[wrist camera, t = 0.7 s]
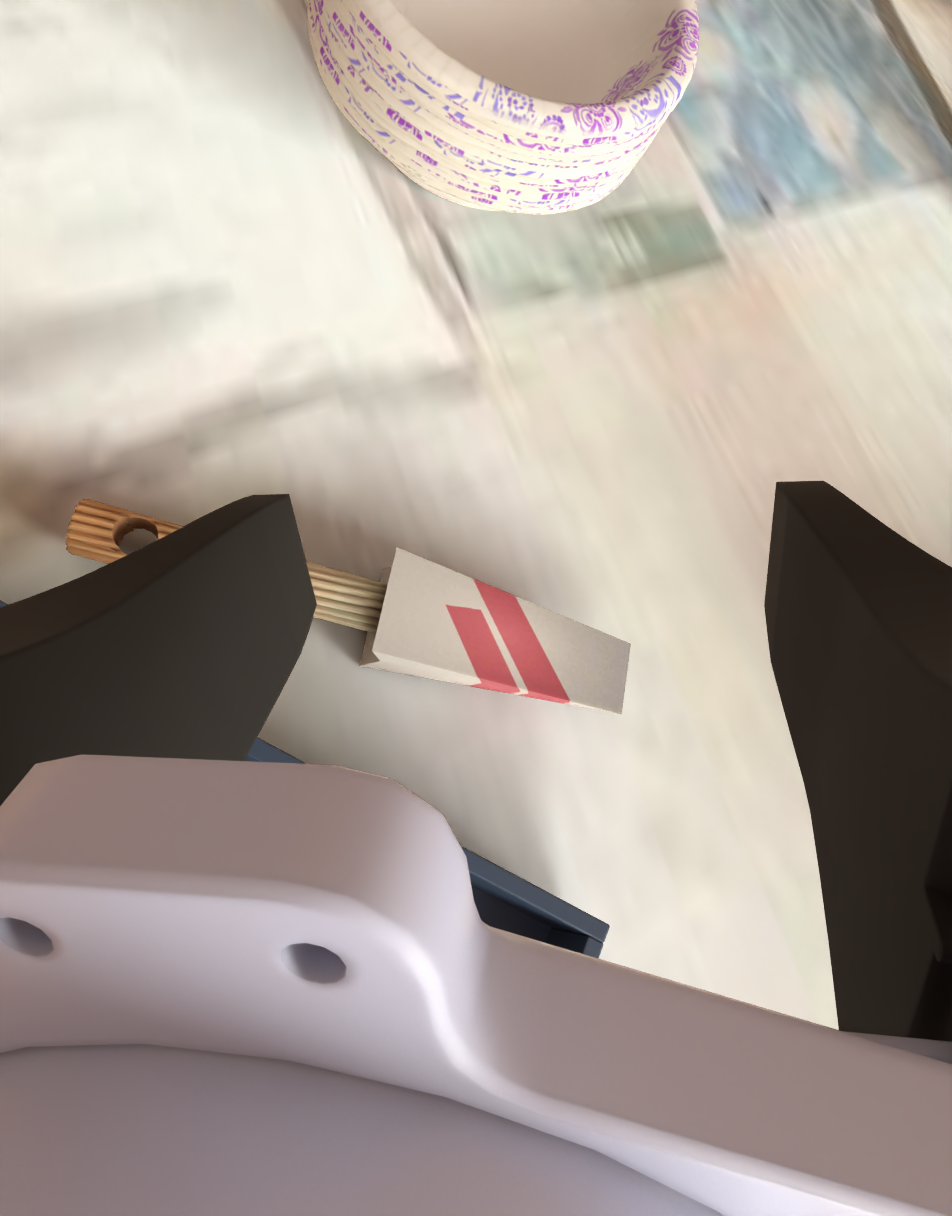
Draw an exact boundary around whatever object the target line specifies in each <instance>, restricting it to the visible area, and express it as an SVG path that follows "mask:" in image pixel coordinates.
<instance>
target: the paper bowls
mask: <svg viewBox="0 0 952 1216" xmlns="http://www.w3.org/2000/svg"><path fill="white" fill-rule="evenodd" d="M307 20H308V33H309V40H310V44H311V48H312V51H313V55H314V59H315V63H316V65H317V68H318V70H319V73H320V76H321V79H322V80H323V82H324V84H325V86H326V88H327V90H328V92H329V93H330V95H331V97H332V99H333V100H334V102H335V103H336V105H337V107H338V108H339V110H340V111H341V112H342V113H343V115H344V116H345V117H346V118H347V120H348V121H349V122H350V123H351V124H352V125H353V127H354V128H355V129H356V130H357V131H358V132H359V133H360V134H361V135H362V136H363V137H365V138H366V139H367V140H368V141H369V142H370V143H371V144H372V145H373V146H374V147H375V148H376V149H377V150H378V151H379V152H381V153H382V154H383V155H384V156H385V157H387V158H388V159H389V160H390V161H391V162H392V163H393V164H394V165H395V166H396V167H397V168H398V169H399V170H400V171H401V172H403V173H404V174H405V175H406V176H407V177H408V178H410V179H411V180H413V181H414V182H416V183H417V184H419V185H420V186H422V187H423V188H425V189H426V190H428V191H430V192H432V193H433V194H435V195H437V196H439V197H442V198H444V199H446V200H448V201H451V202H454V203H456V204H459V205H463V206H466V207H470V208H475V209H481V210H491V211H503V212H514V213H526V214H536V215H542V214H554V213H559V212H566V211H571V210H576V209H579V208H582V207H585V206H588V205H591V204H593V203H595V202H597V201H599V200H601V199H603V198H604V197H605V196H607V195H608V194H609V193H610V192H612V191H613V190H614V189H615V188H616V187H618V186H619V184H621V182H622V181H623V180H624V179H625V178H626V177H627V176H628V174H629V173H630V172H631V170H632V169H633V168H634V166H635V165H636V163H637V162H638V161H639V159H640V158H641V156H642V155H643V154H644V152H645V151H646V150H647V148H648V147H649V145H650V144H651V142H652V141H653V139H654V138H655V136H656V135H657V133H658V131H659V129H660V127H661V126H662V125H663V124H664V122H665V121H666V119H667V117H668V116H669V114H671V112H672V111H673V110H674V108H675V107H676V105H677V104H678V102H679V101H680V99H681V98H682V95H683V93H684V91H685V89H686V87H687V85H688V83H689V81H690V79H691V77H692V75H693V71H694V68H695V65H696V60H697V54H698V48H699V20H698V11H697V7H696V2H695V0H308V6H307Z"/></svg>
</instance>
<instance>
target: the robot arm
mask: <svg viewBox="0 0 952 1216" xmlns="http://www.w3.org/2000/svg"><path fill="white" fill-rule="evenodd" d="M316 606H317V602H316V598H315V594H314V591H313V587H312V583H311V579H310V575H309V571H308V567H307V563H306V559H305V555H304V551H303V547H302V543H301V539H300V535H299V531H298V528H297V524H296V520H295V516H294V512H293V508H292V504H291V500H290V496H289V494H276V495H252V496H248V497H245V498H242V499H240V500H237V501H235V502H232V503H230V504H228V505H225V506H223V507H221V508H219V509H217V510H215V511H213V512H211V513H209V514H207V515H205V516H203V517H201V518H199V519H197V520H195V521H193V522H191V523H189V524H187V525H186V526H184V527H182V528H180V529H178V530H176V531H174V532H172V533H170V534H168V535H166V536H164V537H162V538H161V539H159V540H157V541H155V542H153V543H151V544H149V545H147V546H145V547H143V548H141V549H139V550H137V551H135V552H133V553H130V554H128V555H126V556H124V557H122V558H120V559H118V560H116V561H114V562H112V563H110V564H108V565H106V566H104V567H101V568H99V569H97V570H95V571H93V572H91V573H89V574H86V575H84V576H82V577H80V578H77V579H75V580H73V581H70V582H68V583H65V584H63V585H61V586H58V587H55V588H53V589H50V590H48V591H45V592H42V593H40V594H37V595H35V596H32V597H29V598H27V599H24V600H21V601H18V602H15V603H13V604H9V605H6V606H3V607H0V1216H952V567H950V566H948V565H946V564H945V563H943V562H941V561H940V560H938V559H936V558H935V557H933V556H931V555H930V554H928V553H926V552H925V551H923V550H922V549H920V548H919V547H917V546H915V545H914V544H912V543H911V542H909V541H908V540H906V539H905V538H903V537H902V536H900V535H899V534H897V533H896V532H895V531H893V530H892V529H890V528H889V527H887V526H886V525H885V524H883V523H882V522H880V521H879V520H878V519H876V518H875V517H874V516H872V515H871V514H869V513H868V512H867V511H865V510H864V509H863V508H861V507H860V506H859V505H857V504H856V503H855V502H853V501H852V500H851V499H849V498H848V497H847V496H845V495H844V494H842V493H841V492H840V491H838V490H837V489H835V488H834V487H833V486H831V485H830V484H828V483H826V482H824V481H797V482H776V491H775V501H774V512H773V522H772V532H771V543H770V553H769V563H768V574H767V584H766V594H765V605H764V606H765V615H766V624H767V634H768V642H769V650H770V658H771V663H772V667H773V671H774V675H775V679H776V683H777V686H778V690H779V694H780V697H781V701H782V705H783V709H784V712H785V716H786V719H787V723H788V727H789V730H790V734H791V738H792V741H793V745H794V748H795V752H796V756H797V759H798V763H799V767H800V770H801V774H802V777H803V781H804V785H805V790H806V794H807V799H808V803H809V808H810V813H811V819H812V826H813V832H814V839H815V846H816V853H817V859H818V866H819V873H820V880H821V888H822V895H823V903H824V910H825V918H826V925H827V933H828V940H829V949H830V957H831V966H832V974H833V983H834V991H835V1000H836V1008H837V1017H838V1026H839V1030H836V1029H833V1028H829V1027H826V1026H823V1025H819V1024H816V1023H812V1022H809V1021H806V1020H802V1019H799V1018H796V1017H792V1016H789V1015H786V1014H782V1013H779V1012H776V1011H772V1010H769V1009H765V1008H762V1007H759V1006H755V1005H752V1004H749V1003H745V1002H742V1001H739V1000H735V999H732V998H729V997H725V996H722V995H719V994H715V993H712V992H708V991H705V990H702V989H698V988H695V987H692V986H688V985H685V984H682V983H678V982H675V981H672V980H668V979H665V978H661V977H658V976H655V975H651V974H648V973H645V972H641V971H638V970H635V969H631V968H628V967H625V966H621V965H618V964H615V963H611V962H608V961H604V960H601V959H598V958H594V957H591V956H588V955H584V954H581V953H578V952H574V951H571V950H568V949H564V948H561V947H557V946H554V945H551V944H547V943H544V942H541V941H537V940H534V939H531V938H527V937H524V936H521V935H517V934H514V933H510V932H507V931H504V930H500V929H497V928H494V927H490V926H488V925H487V924H485V923H484V922H482V920H481V919H480V916H479V913H478V910H477V908H476V905H475V902H474V898H473V892H472V886H471V881H470V875H469V869H468V863H467V857H466V855H465V853H464V852H463V850H462V848H461V846H460V844H459V842H458V841H457V839H456V837H455V835H454V833H453V832H452V830H451V828H450V826H449V824H448V823H447V821H446V819H445V817H444V815H443V814H442V813H441V812H439V811H438V810H437V809H435V808H434V807H432V806H431V805H430V804H428V803H427V802H425V801H424V800H422V799H421V798H419V797H418V796H416V795H415V794H413V793H412V792H410V791H409V790H407V789H406V788H404V787H403V786H401V785H400V784H398V783H397V782H396V781H394V780H393V779H391V778H388V777H384V776H379V775H375V774H371V773H366V772H362V771H358V770H354V769H349V768H345V767H341V766H337V765H323V764H299V763H275V762H251V761H244V760H245V759H246V757H247V755H248V753H249V751H250V749H251V747H252V745H253V744H254V742H255V740H256V738H257V736H258V734H259V732H260V731H261V729H262V727H263V725H264V723H265V721H266V719H267V717H268V716H269V714H270V712H271V710H272V708H273V706H274V704H275V703H276V701H277V699H278V697H279V695H280V693H281V691H282V689H283V687H284V685H285V684H286V682H287V680H288V678H289V676H290V674H291V672H292V670H293V668H294V666H295V664H296V662H297V660H298V658H299V656H300V654H301V651H302V648H303V646H304V643H305V640H306V637H307V634H308V632H309V628H310V625H311V622H312V619H313V616H314V612H315V609H316Z"/></svg>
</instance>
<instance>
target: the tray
mask: <svg viewBox="0 0 952 1216" xmlns="http://www.w3.org/2000/svg"><path fill="white" fill-rule="evenodd" d="M6 605H8V604H6V603H4V602H2V601H0V607H3V606H6ZM244 761H251V762H275V763H299V764H306V763H304V762H303V761H301V760H299V759H297V758H295V757H293V756H291V755H289V754H288V753H286V752H284V751H282V750H280V749H278V748H276V747H274V746H273V745H271V744H269V743H267V742H265V741H263V740H261V739H259V738H258V737H257V738H256V740H255V742H254V744H253V745H252V747H251V749H250V751H249V753H248V755H247V757H246V759H245V760H244ZM461 848H462V850H463V852H464V853H465V855H466V857H467V863H468V869H469V875H470V881H471V886H472V892H473V898H474V902H475V905H476V908H477V910H478V913H479V916H480V919H481V920H482V922H484V923H485V924H487V925H488V926H490V927H494V928H497V929H500V930H504V931H507V932H510V933H514V934H517V935H521V936H524V937H527V938H531V939H534V940H537V941H541V942H544V943H547V944H551V945H554V946H557V947H561V948H564V949H568V950H571V951H574V952H578V953H581V954H584V955H588V956H591V957H594V958H599V955H600V953H601V950H602V947H603V942H604V941H605V938H606V935H607V933H608V930H609V925H608V924H606V923H605V922H603V921H601V920H599V919H597V918H595V917H593V916H591V915H590V914H588V913H586V912H584V911H582V910H580V909H578V908H576V907H575V906H573V905H571V904H569V903H567V902H565V901H563V900H561V899H560V898H558V897H556V896H554V895H552V894H550V893H548V892H546V891H545V890H543V889H541V888H539V887H537V886H535V885H533V884H531V883H530V882H528V881H526V880H524V879H522V878H520V877H518V876H516V875H515V874H513V873H511V872H509V871H507V870H505V869H503V868H501V867H500V866H498V865H496V864H494V863H492V862H490V861H488V860H486V859H485V858H483V857H481V856H479V855H477V854H475V853H473V852H471V851H470V850H468V849H466V848H464V847H462V846H461Z"/></svg>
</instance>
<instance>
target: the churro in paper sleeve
mask: <svg viewBox="0 0 952 1216" xmlns="http://www.w3.org/2000/svg"><path fill="white" fill-rule="evenodd" d="M182 527H183V526H180V525H176V524H173V523H169V522H166V521H162V520H159V519H156V518H152V517H149V516H145V515H142V514H138V513H135V512H131V511H128V510H124V509H121V508H118V507H114V506H111V505H107V504H104V503H100V502H97V501H93V500H90V499H83V500H82V501H80V502H79V505H77V506H76V508H75V512H73V514H72V518H71V521H70V523H69V529H68V532H67V535H66V537H67V540H66V545H67V548H66V550H68V552H70V553H71V554H73V555H77V556H81V557H85V558H89V559H93V560H97V561H100V562H104V563H108V564H110V563H112V562H114V561H116V560H118V559H120V558H122V557H124V556H126V555H128V554H126V553H124V552H122V551H121V549H120V548H119V547H118V546H119V542H120V541H121V540H122V539H123V536H124V535H125V534H127V533H129V532H131V531H133V530H134V529H146V530H148V531H150V532H152V533H153V534H155V535H156V537H157V539H158V540H159V539H161V538H162V537H164V536H166V535H168V534H170V533H172V532H174V531H176V530H178V529H180V528H182ZM306 563H307V567H308V571H309V575H310V579H311V583H312V587H313V591H314V594H315V598H316V602H317V606H316V609H315V612H314V616H313V617H315V618H319V619H323V620H327V621H330V622H334V623H338V624H342V625H345V626H349V627H353V628H357V629H360V630H364V631H368V632H367V636H366V640H365V644H364V648H363V653H362V657H361V661H360V665H359V666H363V667H368V668H374V669H379V670H385V671H390V672H396V673H401V674H406V675H412V676H417V677H423V678H428V679H434V680H439V681H444V682H450V683H455V684H461V685H466V686H472V687H477V688H483V689H488V690H493V691H499V692H504V693H510V694H515V695H521V696H526V697H531V698H537V699H542V700H548V701H553V702H559V703H564V704H569V705H575V706H580V707H586V708H591V709H597V710H602V711H608V712H613V713H618V714H622V707H623V699H624V691H625V684H626V676H627V668H628V661H629V653H630V645H631V644H630V643H628V642H625V641H623V640H620V639H618V638H615V637H613V636H611V635H608V634H606V633H603V632H601V631H599V630H596V629H594V628H591V627H589V626H586V625H584V624H582V623H579V622H577V621H574V620H572V619H569V618H567V617H565V616H562V615H560V614H557V613H555V612H553V611H550V610H548V609H545V608H543V607H540V606H538V605H536V604H533V603H531V602H528V601H526V600H524V599H521V598H519V597H516V596H514V595H511V594H509V593H507V592H504V591H502V590H499V589H497V588H495V587H492V586H490V585H487V584H485V583H482V582H480V581H478V580H475V579H473V578H470V577H468V576H465V575H463V574H461V573H458V572H456V571H453V570H451V569H449V568H446V567H444V566H441V565H439V564H436V563H434V562H432V561H429V560H427V559H424V558H422V557H420V556H417V555H415V554H412V553H410V552H407V551H405V550H403V549H400V548H398V547H397V548H396V552H395V557H394V561H393V565H392V567H391V568H387V569H383V570H382V573H381V578H380V582H377V581H374V580H370V579H367V578H364V577H360V576H357V575H353V574H350V573H346V572H342V571H339V570H335V569H332V568H328V567H324V566H321V565H317V564H313V563H310V562H306Z"/></svg>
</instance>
